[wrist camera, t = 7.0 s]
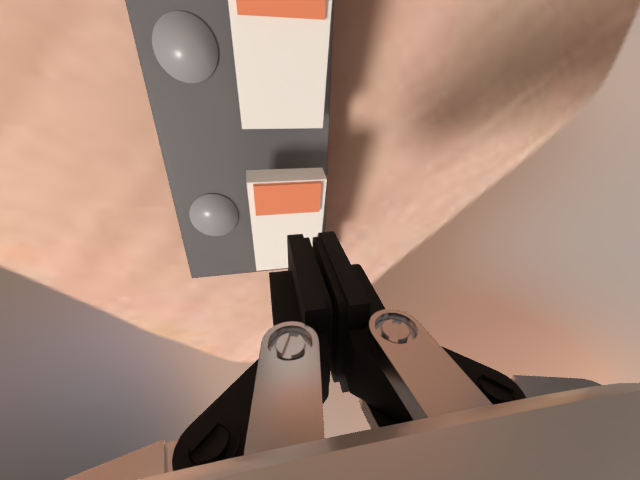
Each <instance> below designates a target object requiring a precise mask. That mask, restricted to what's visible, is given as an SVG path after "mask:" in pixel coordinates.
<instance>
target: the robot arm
mask: <svg viewBox="0 0 640 480" xmlns="http://www.w3.org/2000/svg"><path fill="white" fill-rule="evenodd" d="M287 248H288V271H281V272H270V273H269V277H270V290H271V303H272V315H273V327H272V328H271V329H269V330H268V331H267V332H266V334H265V335H264V337H263V339H262V342H261V348H260V354H259V359H258V360H257V361H256V362H255V363H254V364H253V365H252V366H251V367H250V368H249V369H247V370H246V371H245V372H244V373H243V374H242V375H241V376H240V377H239V378H238V379H237V380H236V381H235V382H234V383H233V384H232V385H231V386H230V387H229V388H228V389H227V390H226V391H225V392H224V393H223V394H222V395H221V396H220V397H219V398H218V399H216V400H215V401H214V402H213V403H212V404H211V405H210V406H209V407H208V408H207V409H206V410H205V411H204V412H203V413H202V414H201V415H200V416H199V417H198V418H197V419H196V420H195V421H194V422H193V423H192V424H191V425H190V426H189V427H188V428H187V429H186V430H185V431H184V433H183V434H182V435H181V436H180V438H178V439H176V440H174V441H171V442H169V443H166V444H165V441H164V440H161V441H159V442H156V443H154V444H151V445H149V446H146V447H144V448H141V449H139V450H136V451H134V452H132V453H129V454H126V455H124V456H121V457H119V458H116V459H114V460H111V461H109V462H107V463H104V464H102V465H99V466H97V467H94V468H92V469H89V470H87V471H84V472H82V473H79V474H77V475H74V476H72V477H69V478H67V479H64V480H640V383H618V384H609V385H600V384H598V383H596V382H594V381H590V380H585V379H578V378H559V377H540V376H521V375H519V376H518V375H513V377H512V378H511V379H510V378H508V377H507V376H506V375H504V374H502V373H500V372H498V371H496V370H494V369H492V368H489V367H487V366H485V365H483V364H480V363H478V362H476V361H474V360H471V359H469V358H467V357H464V356H462V355H460V354H458V353H455V352H453V351H451V350H449V349H446V348H444V347H442V346H440V345H439V343H438V342H437V341H436V340H435V339H434V338H433V337H432V336H431V334H430V333H429V332H428V331H427V330H426V329H425V328H424V327H423V326H422V324H421V323H420V322H419V321H418V320H417V319H416V318H414V317H413V316H412V315H410V314H408V313H406V312H404V311H400V310H395V309H385V308H384V306H383V304H382V302H381V300H380V299H379V297H378V295H377V293H376V292H375V290H374V288H373V286H372V285H371V283H370V281H369V279H368V277H367V276H366V274H365V272H364V270H363V269H362V267H361V266H360V265H359V264H353V265H351V264H350V262H349V260H348V258H347V256H346V254H345V252H344V250H343V248H342V246H341V244H340V242H339V241H338V239H337V237H336V235H335V233H334V232H321V233H318V237H313V241H312V245H311V242H310V239H309V237H307V238H304V236H303V234H294V235H287ZM330 371H331V374H332V378H333V381H334V382H340V385H341V389H342V392H348V391H350V393H352V394H353V395H355V396H357V397H358V398H359V402H360V406H361V409H362V411H363V413H364V415H365V417H366V419H367V421H368V423H369V425H370V427H371V429H370V430H365V431H361V432H355V433H350V434H345V435H340V436H336V437H331V438H326V439H325V438H324V421H323V403H324V402H325V400H326V399H327V397H328V393H329V382H330Z"/></svg>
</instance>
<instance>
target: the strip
mask: <svg viewBox="0 0 640 480" xmlns="http://www.w3.org/2000/svg"><path fill="white" fill-rule="evenodd" d="M333 1H334V0H332V8H331V22H330V35H329V49H328V63H327V76H326V90H325V103H324V117H323V128H296V129H242V124H241V115H240V106H239V97H238V87H237V78H236V69H235V60H234V51H233V42H232V33H231V23H230V14H229V5H228V0H125V2H126V6H127V10H128V14H129V18H130V22H131V27H132V31H133V35H134V39H135V43H136V47H137V51H138V56H139V60H140V64H141V68H142V72H143V76H144V81H145V85H146V89H147V93H148V97H149V101H150V106H151V110H152V114H153V118H154V122H155V126H156V131H157V135H158V139H159V143H160V147H161V151H162V156H163V160H164V164H165V168H166V172H167V176H168V180H169V185H170V189H171V193H172V197H173V201H174V205H175V210H176V214H177V218H178V222H179V226H180V230H181V235H182V239H183V243H184V247H185V251H186V255H187V260H188V264H189V268H190V272H191V276H192V278H198V277H208V276H218V275H229V274H239V273H249V272H259V271H256V262H255V253H254V245H253V236H252V227H251V218H250V209H249V200H248V192H247V183H246V170H268V169H295V168H323V171H324V173H325V176H326V178H327V158H328V132H329V106H330V80H331V53H332V27H333ZM326 185H327V183H326ZM325 211H326V193H325V204H324V215H323V225H322V232H325ZM281 269H288V268H281ZM271 270H279V269H271ZM260 271H269V270H260Z"/></svg>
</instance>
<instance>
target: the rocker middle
mask: <svg viewBox="0 0 640 480" xmlns="http://www.w3.org/2000/svg"><path fill="white" fill-rule="evenodd" d="M228 5H229V14H230V23H231V33H232V42H233V51H234V60H235V69H236V78H237V87H238V97H239V106H240V115H241V124H242V129H296V128H323V117H324V103H325V90H326V76H327V63H328V49H329V35H330V22H331V8H332V0H228Z"/></svg>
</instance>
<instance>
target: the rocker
mask: <svg viewBox="0 0 640 480" xmlns="http://www.w3.org/2000/svg"><path fill="white" fill-rule="evenodd" d="M246 183H247V192H248V200H249V209H250V218H251V227H252V236H253V245H254V253H255V262H256V271H260V270H271V269H281V268H288V248H287V235H294V234H303V236H304V238H307V237H309V239H310V242H311V245H312V241H313V237H318V233H321V232H322V225H323V215H324V204H325V193H326V183H327V178H326V176H325V173H324V171H323V168H295V169H268V170H246Z"/></svg>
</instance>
